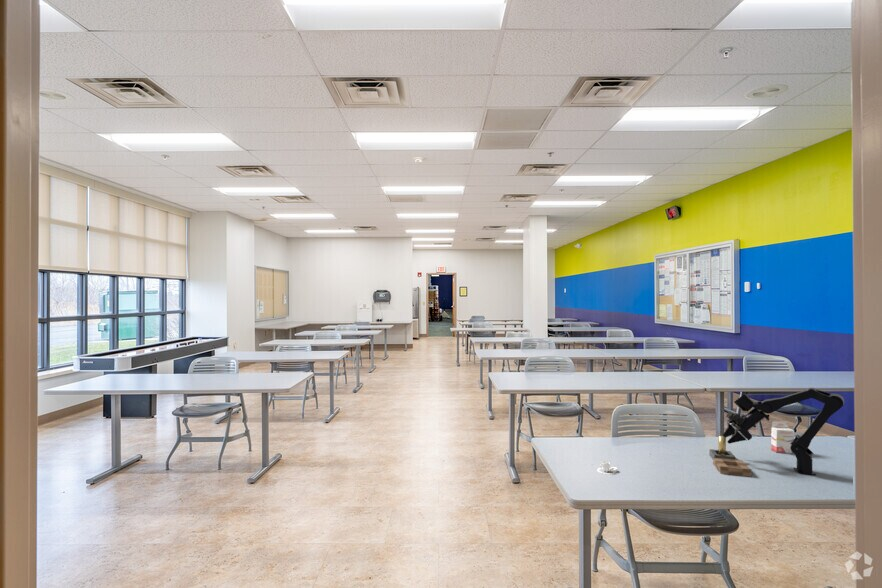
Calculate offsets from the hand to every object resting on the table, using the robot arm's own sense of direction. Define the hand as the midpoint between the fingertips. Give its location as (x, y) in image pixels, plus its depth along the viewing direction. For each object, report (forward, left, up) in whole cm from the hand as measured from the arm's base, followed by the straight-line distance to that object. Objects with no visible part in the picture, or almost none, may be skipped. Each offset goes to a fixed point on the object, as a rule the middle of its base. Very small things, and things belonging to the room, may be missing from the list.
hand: (725, 439), depth 231 cm
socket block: (0, +1, -9) cm, 10 cm away
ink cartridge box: (+22, -32, -10) cm, 40 cm away
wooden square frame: (-15, +1, -9) cm, 18 cm away
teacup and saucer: (-35, +54, -10) cm, 65 cm away
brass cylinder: (0, +1, -9) cm, 10 cm away
